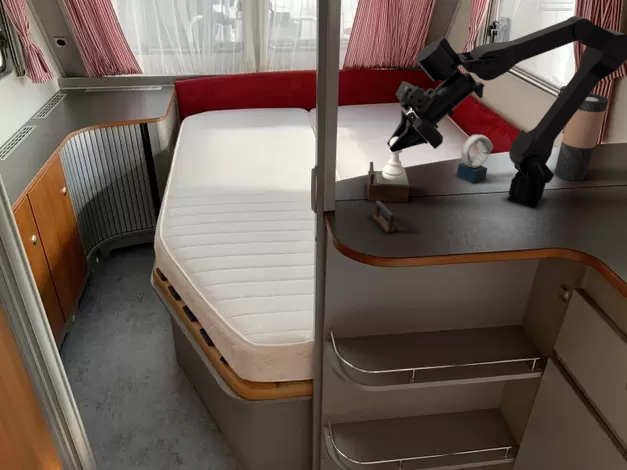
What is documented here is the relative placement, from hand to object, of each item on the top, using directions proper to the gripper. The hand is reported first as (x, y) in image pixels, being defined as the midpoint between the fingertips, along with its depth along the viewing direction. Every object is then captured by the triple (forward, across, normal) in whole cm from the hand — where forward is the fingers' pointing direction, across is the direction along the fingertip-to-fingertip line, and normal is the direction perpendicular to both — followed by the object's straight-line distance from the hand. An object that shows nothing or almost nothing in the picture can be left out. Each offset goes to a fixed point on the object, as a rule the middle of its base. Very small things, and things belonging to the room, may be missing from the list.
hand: (389, 148), depth 114 cm
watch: (-8, -13, +26) cm, 30 cm away
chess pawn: (+4, 0, +6) cm, 7 cm away
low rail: (+11, +11, +7) cm, 17 cm away
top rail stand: (+8, -4, +10) cm, 13 cm away
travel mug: (-26, -14, +45) cm, 54 cm away
